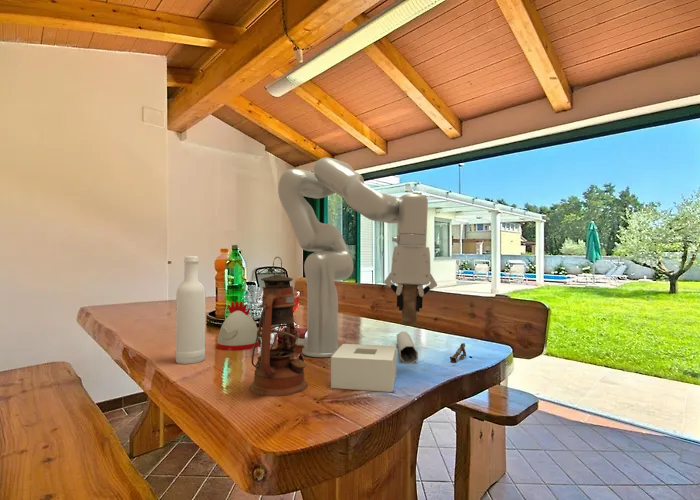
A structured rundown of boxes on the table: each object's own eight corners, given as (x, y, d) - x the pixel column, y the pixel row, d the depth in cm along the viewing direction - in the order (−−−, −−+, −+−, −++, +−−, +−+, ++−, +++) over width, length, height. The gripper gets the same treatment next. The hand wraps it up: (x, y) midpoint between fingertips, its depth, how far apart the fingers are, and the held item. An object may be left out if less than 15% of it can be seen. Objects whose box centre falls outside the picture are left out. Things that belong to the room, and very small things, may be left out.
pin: (400, 325, 101) (402, 279, 101) (401, 322, 105) (403, 278, 105) (416, 326, 100) (418, 280, 100) (416, 323, 104) (418, 279, 104)
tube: (393, 332, 134) (396, 348, 110) (408, 327, 134) (414, 343, 109) (398, 347, 134) (402, 366, 109) (412, 342, 134) (420, 361, 109)
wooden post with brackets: (469, 354, 116) (466, 341, 115) (458, 370, 110) (455, 357, 109) (463, 353, 117) (461, 340, 116) (452, 369, 112) (449, 356, 110)
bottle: (170, 360, 111) (171, 256, 111) (197, 355, 117) (198, 256, 117) (182, 365, 106) (183, 256, 106) (210, 360, 111) (211, 256, 112)
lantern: (290, 402, 80) (291, 256, 80) (234, 396, 83) (235, 256, 83) (318, 377, 96) (318, 256, 97) (270, 373, 99) (271, 256, 100)
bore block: (330, 387, 88) (331, 357, 88) (343, 370, 102) (343, 343, 102) (392, 392, 86) (392, 360, 86) (396, 373, 99) (396, 346, 100)
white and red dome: (232, 340, 138) (232, 298, 139) (267, 342, 135) (267, 299, 135) (208, 349, 125) (208, 302, 125) (246, 352, 121) (246, 304, 122)
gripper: (378, 240, 100) (376, 310, 100) (445, 242, 97) (442, 314, 97) (381, 240, 108) (379, 306, 108) (443, 242, 105) (440, 310, 105)
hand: (409, 309), depth 103 cm, fingers closed on pin, 4 cm apart
